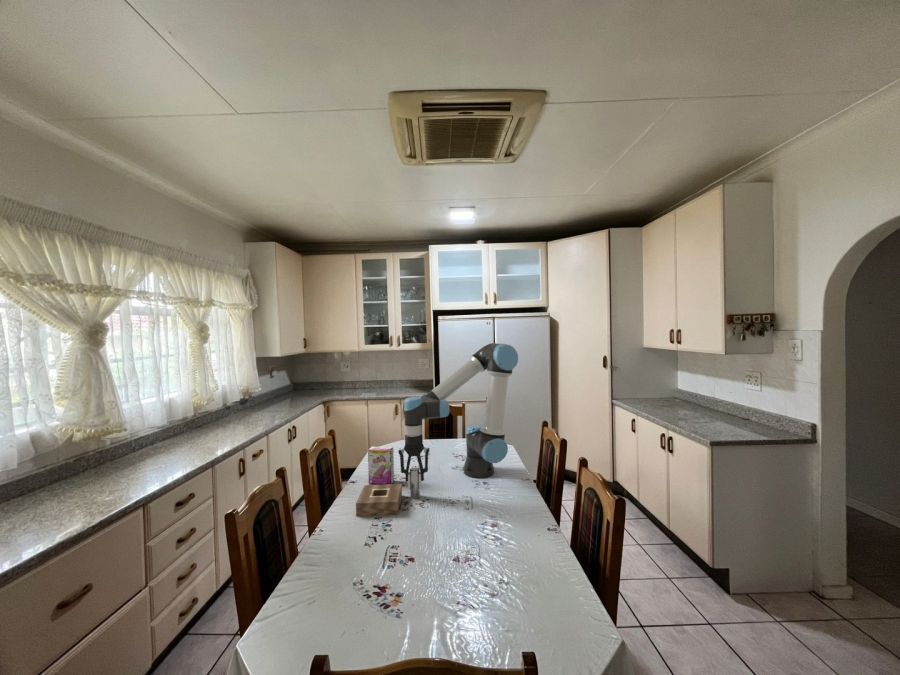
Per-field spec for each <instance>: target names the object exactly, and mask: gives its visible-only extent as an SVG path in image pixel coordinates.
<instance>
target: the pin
mask: <svg viewBox="0 0 900 675" xmlns="http://www.w3.org/2000/svg"><path fill="white" fill-rule="evenodd" d="M409 472H410V490H409V492H410V493H409V494H410V499H412V500H419V498H420V497H421V490H419V472H420V468H419V467H415V466H414V467H411V468H409Z"/></svg>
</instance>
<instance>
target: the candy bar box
mask: <svg viewBox="0 0 900 675" xmlns="http://www.w3.org/2000/svg"><path fill="white" fill-rule="evenodd" d="M367 454H368V455H367V457H368V458H367V459H368V460H367V462H368V485H385V484H394V481H395V469H394V468H395V467H394V466H395V464H394V463H395V462H394V447H393V446H370V447H369V448H368V449H367Z"/></svg>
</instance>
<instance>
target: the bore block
mask: <svg viewBox="0 0 900 675" xmlns="http://www.w3.org/2000/svg"><path fill="white" fill-rule="evenodd" d="M402 485H403V484H402V483H392V484H364V485H363V487H362V490H361V491H360V493H359V496H358V498H357V500H356V502H355V516H356V517H366V516H367V517H368V516H369V517H370V516H389V515H393V516H394V515H395V516H396V515H399V511H400V505H401V501H402V498H403V497H402V496H403V489H402V488H403V487H402Z"/></svg>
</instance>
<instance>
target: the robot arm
mask: <svg viewBox="0 0 900 675" xmlns="http://www.w3.org/2000/svg"><path fill="white" fill-rule="evenodd" d="M518 362H519V355H518V351H517V350H516V349H515V347H514V346H512V345H511V344H507V343H497V342H496V343H488V344H485V345H484V346H483V347H481V348H480V349H479V350H478V351H476V352H475V353H473V354H472V355H471V356H470V359H469V360H468V361H467V362H465V363H464V364H463V365H461V366H460V367H459V368H458V369H457V370H455V371H454V372H453V373H451V374H450V375H449V376H447V378H445V379H444V380H443V381H442V382H440V383H439V384H438V385H437V386H435V387H434V388H432V390H430V391H429V392H427V393H426V394H425V393H424V394H421V395H420V396H419V397H418V396H415V397H414V396H412V397H407V398H405V399H404V402H403V403H404V404H403V405H404V406H403V407H404V408H403V410H404V411H403V414H404V434H405V435H404V447H402V448H399V449H398V454H399V460H400V473H401V474H404V476H405V482H407V483H408V484H407V486H408V488H407V489H408V491H410V466H411V459H412V457H416V459H417V462H418V468H419V490H420V491H421V490H422V482H424V480H425V473H428V471H429V453H430V448H429V447H425V445H424V441H423V440H424V438H423V436H424V435H423V421H424V420H430V419H439V418H440V419H441V418H445V417H448V416H449V415H450V405H449V404H450V403H449V401H448V400H447V399H448V398H449V397H450V396H452V395H453V394H454V393H455V392H457V390H459V389H461V387H463V386H464V385H465V384H467V383H468V382H469V381H470V380H472V379H473V378H475V376H477V375H478V374H479V373H483V372H485V371H486V372H487V373H488V374H489V379H488V389H487V395H486V405H485V414H484V420H483V421H484V422H483V424H478V425H477V424H475V425H470V426H467V427H466V429H465V430H466V431H465V432H466V433H465V438H466V439H465V440H466V441H465V442H466V445H465V446H466V458H465V462H464V466H463V474H464V475H465V476H468V477H470V478H475V479H482V478H483V479H484V478H488V477H491V476H493V475H494V473H495V467H494V464H498V463H500V462H502V461H503V460H504V459H505V458H506V457H507V454H508V451H509V448H508V447H509V446H508V444H507V442H506V441H505V436H506V432H505V431H504V429H503V427H504V426H503V425H504V415H505V408H506V401H507V400H506V399H507V391H508V382H509V377H510V376H512V375H513V371H514V369H515V367H517V365H518ZM405 452H406V454H407V455H408V456H407V461H406V468H405V461H404V460H405V459H404V457H405V456H404V453H405ZM422 452H423V453H424V467H423V462H422V457H421V456H422V455H421V454H422Z"/></svg>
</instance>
